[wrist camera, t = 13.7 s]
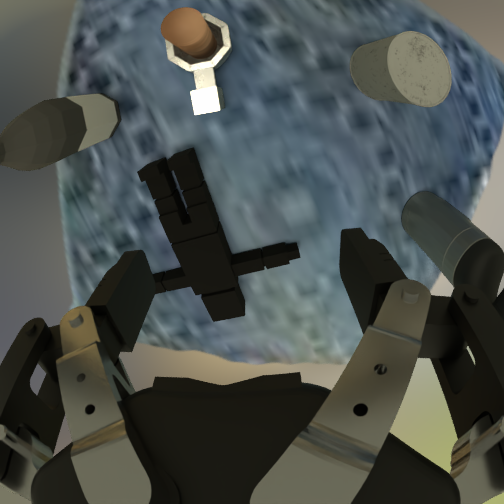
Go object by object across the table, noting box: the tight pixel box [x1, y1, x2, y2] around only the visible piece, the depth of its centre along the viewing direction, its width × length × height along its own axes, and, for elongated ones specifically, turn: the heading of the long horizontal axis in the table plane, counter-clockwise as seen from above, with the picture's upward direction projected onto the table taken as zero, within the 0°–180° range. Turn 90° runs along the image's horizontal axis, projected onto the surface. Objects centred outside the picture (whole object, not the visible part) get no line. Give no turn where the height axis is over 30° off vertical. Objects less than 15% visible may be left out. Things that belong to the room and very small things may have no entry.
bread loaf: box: [161, 7, 217, 59], centre depth 23 cm, size 4×4×12 cm
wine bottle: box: [0, 94, 121, 171], centre depth 22 cm, size 8×8×30 cm
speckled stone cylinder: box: [350, 31, 451, 107], centre depth 27 cm, size 10×10×12 cm
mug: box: [165, 13, 232, 115], centre depth 29 cm, size 8×13×8 cm, turn 8°
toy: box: [137, 148, 300, 322], centre depth 45 cm, size 30×5×30 cm
